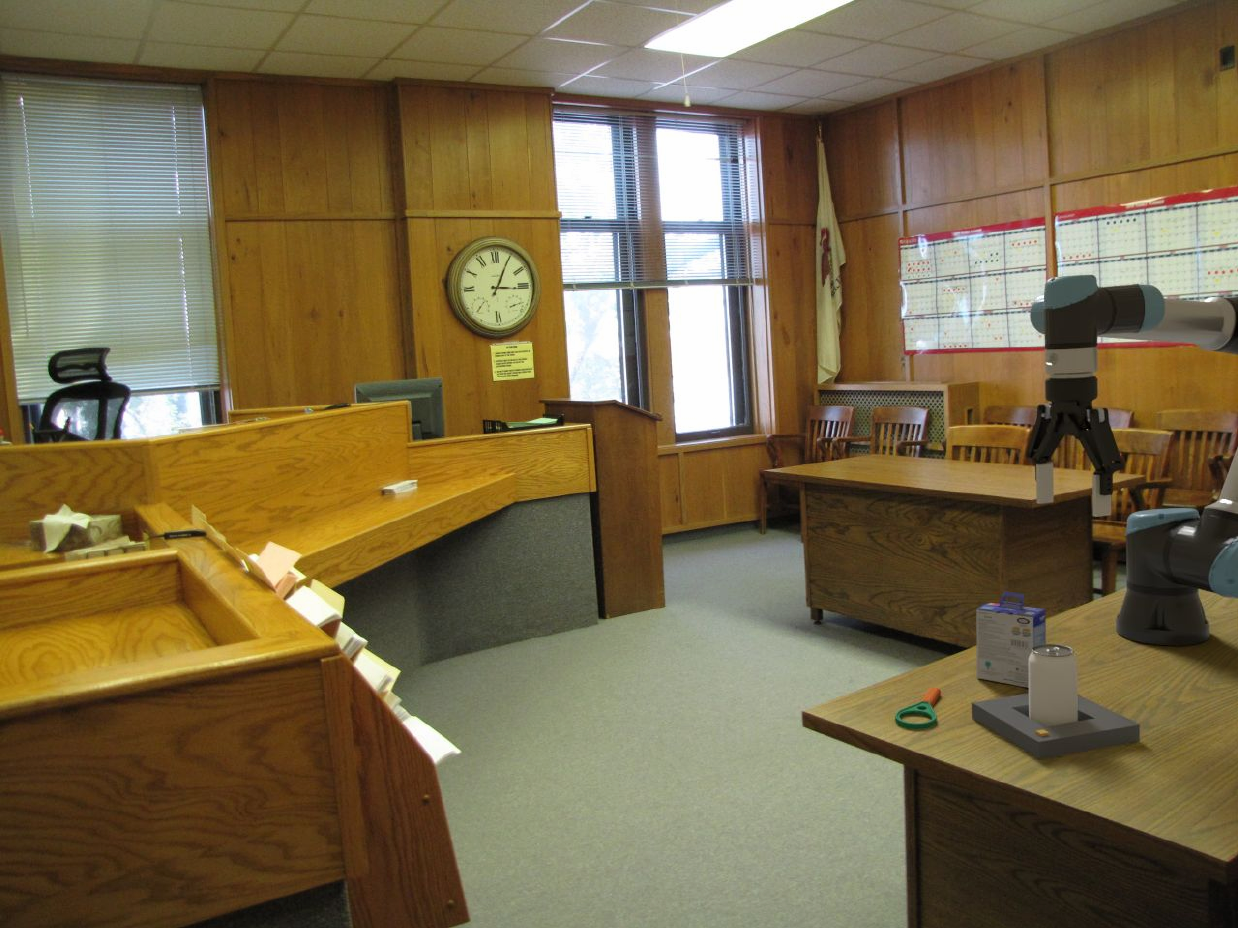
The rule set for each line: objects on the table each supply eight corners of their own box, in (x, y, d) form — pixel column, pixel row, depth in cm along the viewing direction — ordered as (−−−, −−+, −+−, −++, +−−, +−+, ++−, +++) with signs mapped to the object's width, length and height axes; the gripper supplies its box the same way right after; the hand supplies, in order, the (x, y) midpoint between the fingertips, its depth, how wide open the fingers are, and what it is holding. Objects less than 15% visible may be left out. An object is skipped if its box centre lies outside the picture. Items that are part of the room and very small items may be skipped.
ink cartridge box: (1048, 680, 167) (1047, 594, 165) (1035, 690, 163) (1033, 602, 161) (989, 669, 174) (988, 587, 172) (975, 679, 170) (973, 594, 168)
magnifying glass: (930, 734, 150) (930, 723, 149) (889, 728, 153) (889, 717, 153) (954, 699, 163) (954, 689, 162) (916, 694, 166) (916, 684, 165)
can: (1075, 722, 149) (1074, 643, 148) (1080, 739, 143) (1079, 657, 142) (1027, 719, 152) (1026, 642, 150) (1030, 736, 145) (1029, 655, 144)
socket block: (1064, 702, 157) (1064, 684, 157) (1139, 741, 142) (1139, 721, 141) (972, 718, 153) (971, 699, 153) (1038, 759, 138) (1038, 739, 138)
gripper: (1002, 375, 170) (1004, 500, 173) (1105, 379, 146) (1106, 524, 149) (1041, 372, 172) (1043, 495, 175) (1150, 375, 148) (1150, 518, 150)
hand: (1072, 509), depth 162 cm, fingers open, 13 cm apart
